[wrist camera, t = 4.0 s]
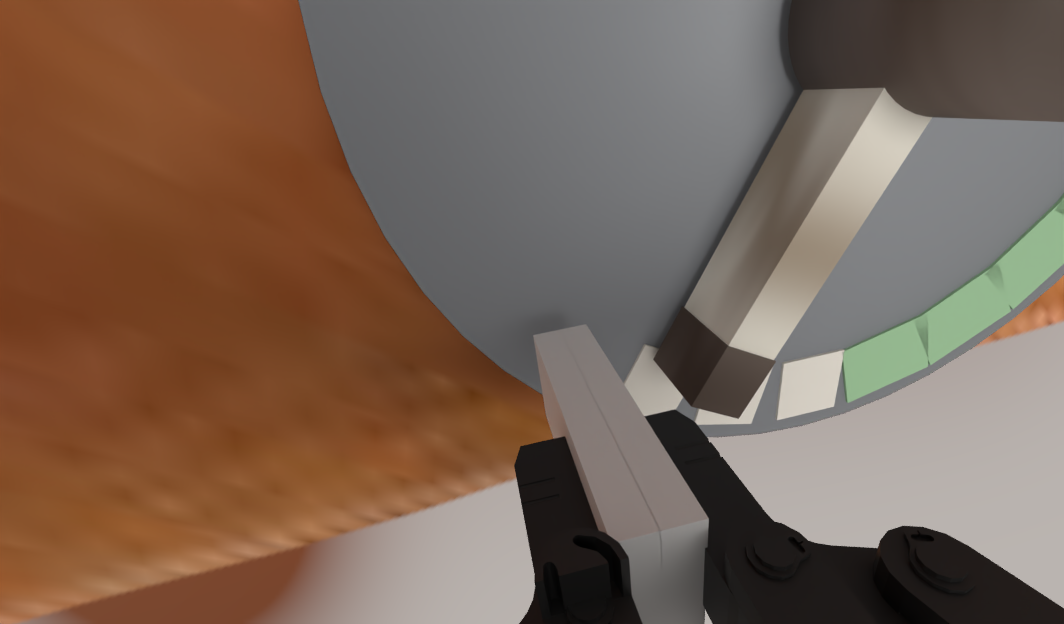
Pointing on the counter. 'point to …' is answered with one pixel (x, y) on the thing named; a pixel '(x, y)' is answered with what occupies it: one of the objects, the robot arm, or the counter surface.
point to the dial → (663, 190)
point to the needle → (850, 162)
